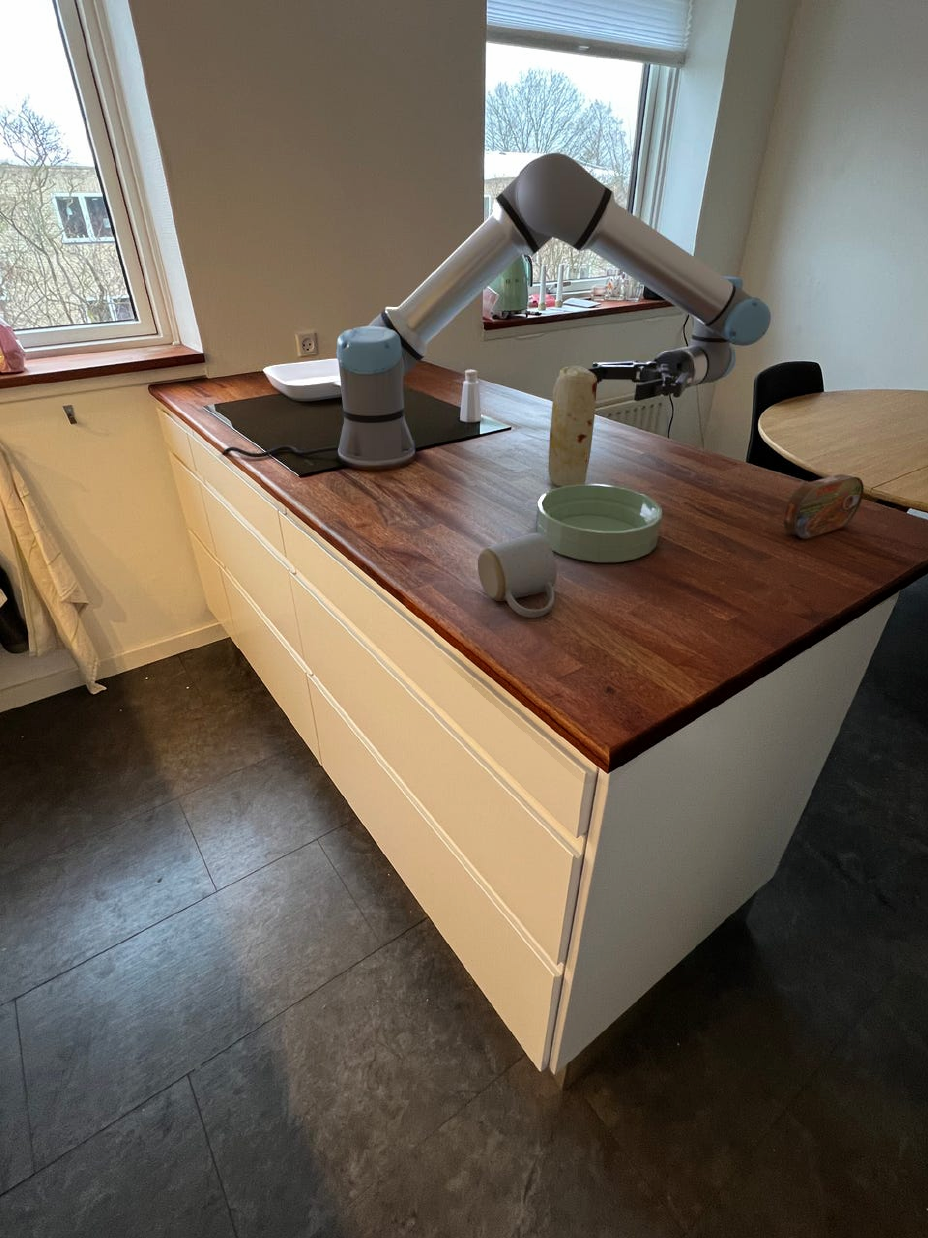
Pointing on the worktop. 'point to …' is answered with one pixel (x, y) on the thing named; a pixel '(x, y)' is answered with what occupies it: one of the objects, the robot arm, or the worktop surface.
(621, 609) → the worktop surface
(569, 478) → the food model
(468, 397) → the pepper shaker
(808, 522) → the tin
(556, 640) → the worktop surface
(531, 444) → the worktop surface
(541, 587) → the ceramic mug
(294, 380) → the pan
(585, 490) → the bowl
